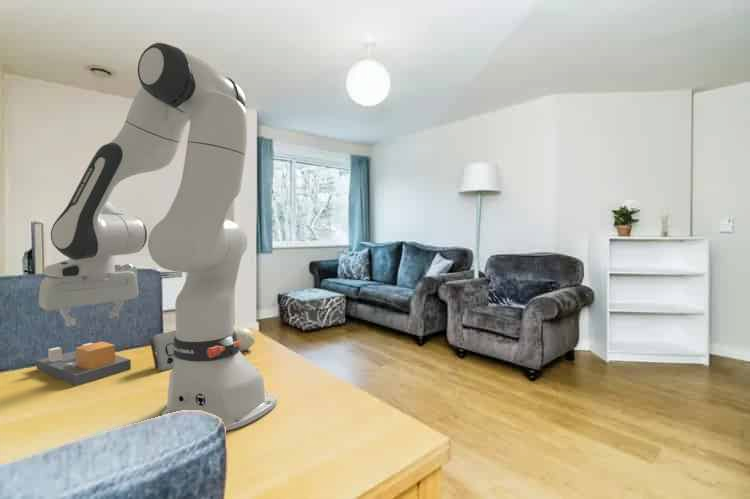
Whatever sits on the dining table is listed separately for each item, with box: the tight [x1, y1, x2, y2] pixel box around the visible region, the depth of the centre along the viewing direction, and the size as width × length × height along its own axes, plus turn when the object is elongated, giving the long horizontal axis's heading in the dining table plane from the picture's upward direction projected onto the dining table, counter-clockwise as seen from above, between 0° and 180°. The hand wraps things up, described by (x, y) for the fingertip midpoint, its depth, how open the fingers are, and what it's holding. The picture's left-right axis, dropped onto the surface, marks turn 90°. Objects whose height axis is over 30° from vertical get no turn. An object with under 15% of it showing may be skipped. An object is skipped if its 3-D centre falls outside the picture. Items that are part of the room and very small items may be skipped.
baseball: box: [233, 327, 256, 352], centre depth 112 cm, size 7×7×7 cm
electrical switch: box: [149, 329, 176, 372], centre depth 100 cm, size 9×5×9 cm, turn 152°
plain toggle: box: [47, 346, 63, 362], centre depth 94 cm, size 2×2×3 cm
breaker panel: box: [36, 350, 132, 387], centre depth 96 cm, size 20×12×3 cm, turn 62°
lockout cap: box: [75, 341, 116, 370], centre depth 93 cm, size 6×6×4 cm
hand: (93, 321), depth 92 cm, fingers open, 8 cm apart
